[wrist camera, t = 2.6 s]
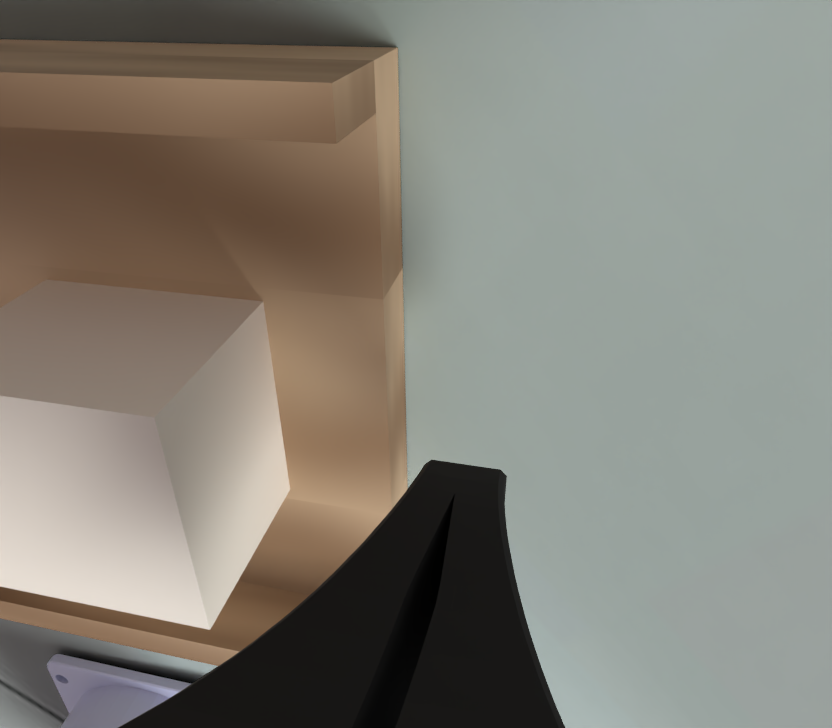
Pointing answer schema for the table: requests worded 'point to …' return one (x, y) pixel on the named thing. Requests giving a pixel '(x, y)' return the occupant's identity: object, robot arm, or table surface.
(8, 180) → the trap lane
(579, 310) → the table surface
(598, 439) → the table surface
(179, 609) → the block
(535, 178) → the table surface
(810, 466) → the table surface
